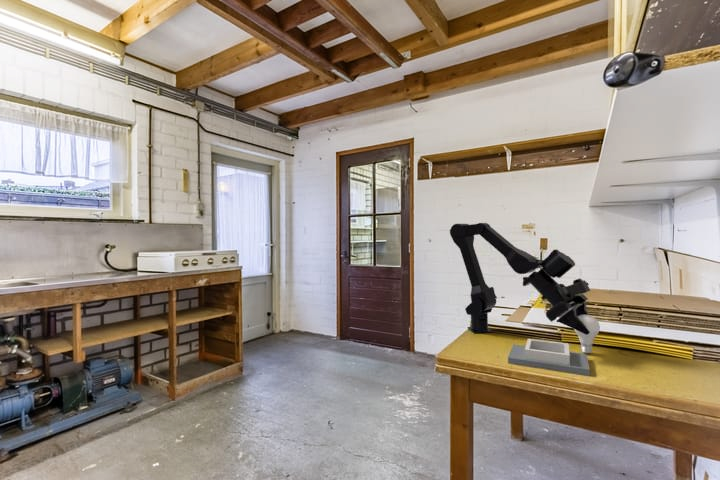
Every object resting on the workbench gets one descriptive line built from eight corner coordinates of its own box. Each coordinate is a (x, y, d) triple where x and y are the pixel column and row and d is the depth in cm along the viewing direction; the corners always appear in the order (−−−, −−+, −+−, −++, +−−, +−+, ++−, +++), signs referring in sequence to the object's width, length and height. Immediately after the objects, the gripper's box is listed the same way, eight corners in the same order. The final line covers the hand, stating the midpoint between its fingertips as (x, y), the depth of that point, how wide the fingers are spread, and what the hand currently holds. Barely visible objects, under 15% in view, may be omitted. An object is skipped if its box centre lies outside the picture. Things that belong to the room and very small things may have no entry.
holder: (508, 363, 89) (507, 348, 89) (513, 349, 100) (513, 336, 100) (589, 376, 80) (589, 359, 80) (586, 359, 90) (585, 344, 90)
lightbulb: (576, 356, 93) (575, 316, 93) (570, 348, 99) (570, 311, 99) (603, 358, 91) (602, 318, 90) (596, 350, 96) (595, 312, 96)
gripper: (557, 273, 91) (607, 320, 83) (579, 267, 103) (624, 308, 95) (528, 298, 97) (572, 345, 89) (552, 290, 109) (592, 330, 101)
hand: (592, 331), depth 94 cm, fingers closed on lightbulb, 6 cm apart
